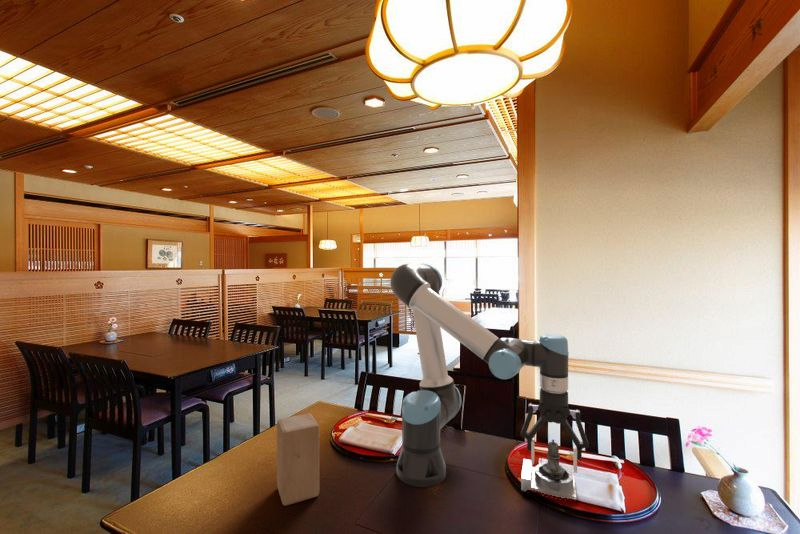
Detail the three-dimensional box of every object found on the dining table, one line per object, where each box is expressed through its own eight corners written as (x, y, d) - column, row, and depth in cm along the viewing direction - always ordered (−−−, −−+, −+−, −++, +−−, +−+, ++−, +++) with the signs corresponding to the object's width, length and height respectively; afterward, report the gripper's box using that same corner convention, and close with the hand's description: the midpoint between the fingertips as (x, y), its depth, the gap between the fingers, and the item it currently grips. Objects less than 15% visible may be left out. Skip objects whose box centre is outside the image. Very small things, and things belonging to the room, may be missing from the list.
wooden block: (282, 508, 94) (282, 432, 94) (276, 487, 103) (276, 418, 103) (320, 497, 99) (320, 424, 99) (311, 477, 108) (311, 411, 107)
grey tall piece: (567, 488, 100) (566, 445, 100) (544, 485, 101) (544, 443, 101) (562, 476, 106) (561, 435, 106) (540, 474, 107) (540, 433, 107)
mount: (521, 490, 101) (521, 476, 101) (523, 469, 112) (523, 456, 112) (576, 502, 96) (576, 487, 96) (573, 480, 106) (573, 466, 106)
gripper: (510, 388, 104) (510, 464, 104) (601, 399, 95) (600, 482, 95) (513, 380, 111) (512, 451, 111) (597, 390, 102) (597, 467, 102)
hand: (553, 465), depth 103 cm, fingers open, 10 cm apart
